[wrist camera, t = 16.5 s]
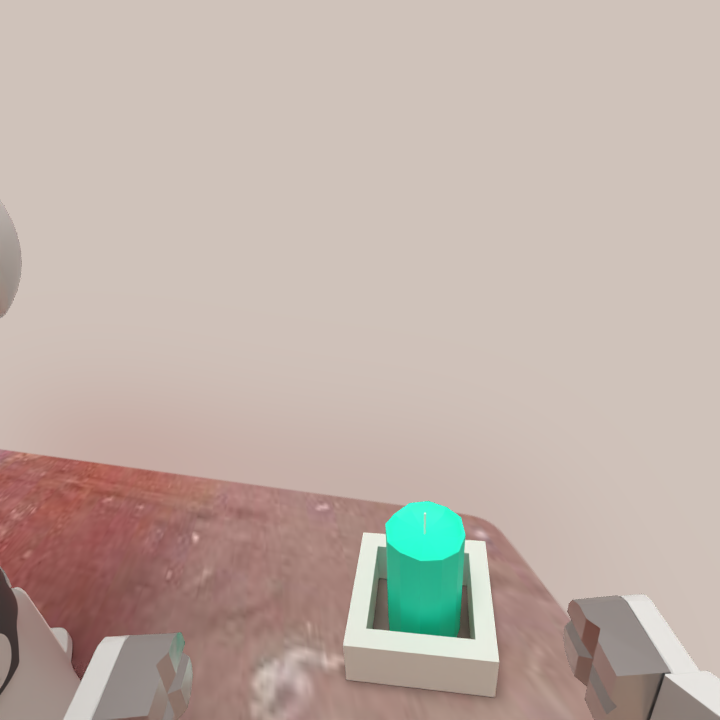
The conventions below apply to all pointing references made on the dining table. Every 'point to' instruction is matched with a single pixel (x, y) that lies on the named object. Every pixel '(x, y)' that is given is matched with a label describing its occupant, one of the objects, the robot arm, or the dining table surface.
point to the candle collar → (419, 651)
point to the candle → (425, 569)
